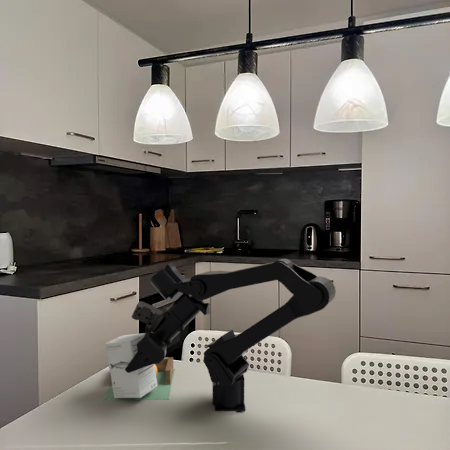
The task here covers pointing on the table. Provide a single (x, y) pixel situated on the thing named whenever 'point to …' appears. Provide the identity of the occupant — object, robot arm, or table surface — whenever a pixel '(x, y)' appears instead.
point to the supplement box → (119, 359)
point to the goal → (163, 369)
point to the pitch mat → (156, 394)
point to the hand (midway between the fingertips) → (130, 363)
